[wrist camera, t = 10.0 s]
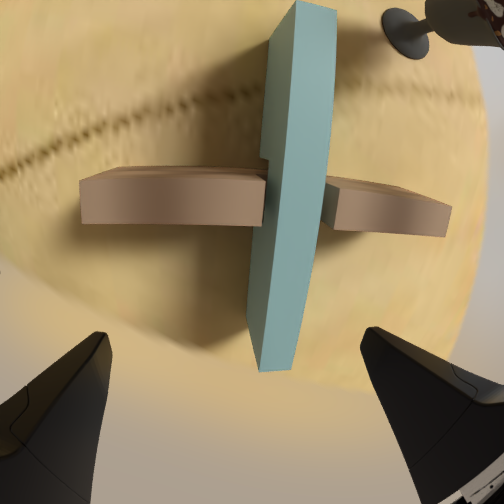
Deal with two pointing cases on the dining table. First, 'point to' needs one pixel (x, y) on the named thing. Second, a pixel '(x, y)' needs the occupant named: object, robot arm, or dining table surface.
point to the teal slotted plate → (291, 178)
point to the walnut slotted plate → (248, 200)
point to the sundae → (447, 25)
